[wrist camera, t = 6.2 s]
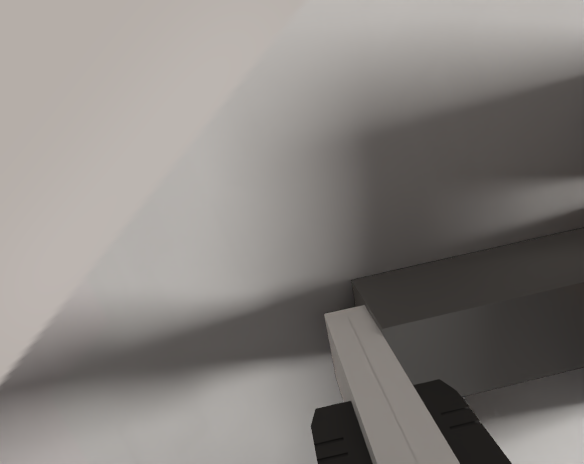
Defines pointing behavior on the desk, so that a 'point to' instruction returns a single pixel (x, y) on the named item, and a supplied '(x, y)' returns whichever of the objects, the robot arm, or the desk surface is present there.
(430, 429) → the robot arm
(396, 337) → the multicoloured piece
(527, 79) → the desk surface
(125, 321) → the desk surface
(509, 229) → the desk surface
